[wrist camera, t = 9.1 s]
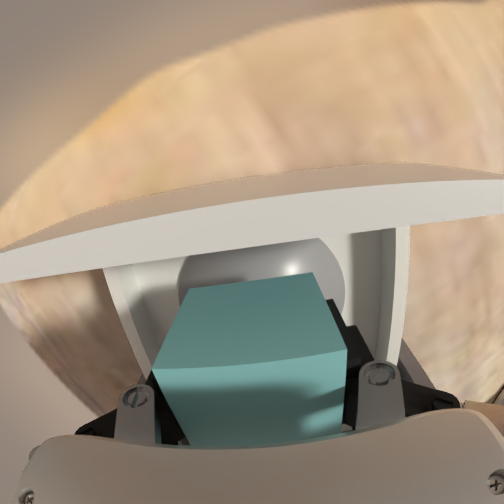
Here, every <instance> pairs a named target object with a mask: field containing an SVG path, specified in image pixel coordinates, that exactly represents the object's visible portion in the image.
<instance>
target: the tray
mask: <svg viewBox="0 0 504 504" xmlns="http://www.w3.org/2000/svg"><path fill="white" fill-rule="evenodd" d="M497 214H504V175H501V174H495V173H490V172H483V171H477V170H470V169H463V168H455V167H447V166H438V165H429V164H418V163H406V162H403V163H382V164H365V165H352V166H339V167H328V168H318V169H309V170H300V171H291V172H283V173H275V174H268V175H261V176H254V177H247V178H241V179H234V180H228V181H222V182H216V183H210V184H205V185H199V186H194V187H189V188H184V189H178V190H173V191H169V192H164V193H159V194H154V195H150V196H145V197H141V198H137V199H132V200H128V201H124V202H120V203H116V204H112V205H108V206H104V207H100V208H96V209H93V210H90V211H88V212H85V213H82V214H80V215H77V216H75V217H72V218H70V219H67V220H65V221H62V222H60V223H57V224H55V225H53V226H50V227H48V228H45V229H43V230H41V231H39V232H36V233H34V234H32V235H30V236H27V237H25V238H23V239H21V240H19V241H16V242H14V243H12V244H10V245H8V246H6V247H4V248H2V249H0V283H6V282H12V281H19V280H26V279H32V278H39V277H46V276H52V275H59V274H66V273H73V272H79V271H86V270H93V269H100V268H102V269H103V272H104V275H105V278H106V282H107V285H108V288H109V291H110V294H111V296H112V299H113V302H114V305H115V308H116V310H117V313H118V316H119V318H120V321H121V324H122V326H123V329H124V331H125V334H126V336H127V338H128V341H129V343H130V346H131V348H132V350H133V353H134V355H135V357H136V359H137V362H138V364H139V366H140V368H141V370H142V372H143V375H144V377H145V379H146V381H147V378H148V376H149V374H150V371H151V369H152V367H153V364H154V362H155V360H156V358H157V355H158V353H159V351H160V349H161V347H162V345H163V342H164V340H165V338H166V336H167V334H168V332H169V330H170V327H171V325H172V323H173V321H174V319H175V317H176V315H177V313H178V311H179V309H180V306H181V304H182V302H183V300H184V298H185V296H186V294H187V292H188V290H189V288H198V287H206V286H214V285H222V284H230V283H238V282H246V281H253V280H260V279H268V278H275V277H282V276H289V275H296V274H303V273H310V272H313V274H314V276H315V278H316V280H317V283H318V285H319V287H320V289H321V291H322V293H323V296H324V298H325V300H327V299H333V300H334V302H335V304H336V306H337V308H338V310H339V312H340V314H341V316H342V318H343V320H344V322H345V324H346V326H351V325H356V326H357V328H358V329H359V331H360V333H361V335H362V337H363V339H364V341H365V343H366V344H367V346H368V348H369V350H370V352H371V354H372V356H373V358H374V360H375V361H376V360H385V361H388V362H391V363H393V364H395V365H396V366H397V363H398V357H399V352H400V346H401V339H402V333H403V325H404V318H405V309H406V300H407V288H408V275H409V255H410V226H411V225H419V224H427V223H434V222H442V221H450V220H458V219H466V218H473V217H481V216H489V215H497ZM351 430H352V427H351V426H349V425H346V424H342V425H341V433H344V432H349V431H351ZM181 442H182V445H186V446H191V444H190V443H189V441H188V439H187V438H186V437H185V438H183V439H181Z"/></svg>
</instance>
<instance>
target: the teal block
mask: <svg viewBox="0 0 504 504" xmlns="http://www.w3.org/2000/svg"><path fill="white" fill-rule="evenodd" d="M346 364H347V348H346V345H345V343H344V341H343V338H342V336H341V334H340V332H339V329H338V327H337V325H336V322H335V320H334V318H333V316H332V313H331V311H330V309H329V307H328V304H327V302H326V300H325V298H324V296H323V293H322V291H321V289H320V287H319V285H318V283H317V280H316V278H315V276H314V274H313V272H310V273H303V274H296V275H289V276H282V277H275V278H268V279H260V280H253V281H246V282H238V283H230V284H222V285H214V286H206V287H198V288H189V290H188V292H187V294H186V296H185V298H184V300H183V302H182V304H181V306H180V309H179V311H178V313H177V315H176V317H175V319H174V321H173V323H172V325H171V327H170V330H169V332H168V334H167V336H166V338H165V340H164V342H163V345H162V347H161V349H160V351H159V353H158V355H157V358H156V360H155V362H154V364H153V367H152V371H153V374H154V376H155V378H156V380H157V382H158V384H159V386H160V388H161V390H162V392H163V395H164V397H165V399H166V401H167V403H168V404H169V406H170V408H171V410H172V412H173V414H174V416H175V418H176V420H177V422H178V423H179V425H180V427H181V429H182V431H183V432H184V434H185V436H186V438H187V439H188V441H189V443H190V444H191V446H241V445H258V444H271V443H281V442H290V441H298V440H305V439H312V438H318V437H324V436H329V435H335V434H340V433H341V425H342V416H343V406H344V394H345V381H346Z"/></svg>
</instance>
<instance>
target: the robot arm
mask: <svg viewBox="0 0 504 504" xmlns="http://www.w3.org/2000/svg"><path fill="white" fill-rule="evenodd" d="M326 302H327V304H328V307H329V309H330V311H331V313H332V316H333V318H334V320H335V322H336V325H337V327H338V329H339V332H340V334H341V336H342V338H343V341H344V343H345V345H346V348H347V364H346V381H345V394H344V406H343V416H342V424H346V425H349V426H351V427H352V430H351V431H349V432H344V433H340V434H335V435H329V436H324V437H318V438H312V439H305V440H298V441H290V442H281V443H271V444H258V445H241V446H186V445H182V442H181V439H183V438H185V437H186V436H185V434H184V432H183V431H182V429H181V427H180V425H179V423H178V422H177V420H176V418H175V416H174V414H173V412H172V410H171V408H170V406H169V404H168V403H167V401H166V399H165V397H164V395H163V392H162V390H161V388H160V386H159V384H158V382H157V380H156V378H155V376H154V374H153V371H152V369H151V371H150V374H149V376H148V378H147V381H146V383H145V385H144V384H137V385H133V386H130V387H128V388H127V389H125V390H124V391H123V392H122V393H121V395H120V397H119V401H118V408H117V409H115V410H113V411H111V412H109V413H107V414H105V415H103V416H101V417H99V418H97V419H95V420H93V421H91V422H89V423H87V424H85V425H83V426H82V427H80V428H79V429H78V430H77V431H76V432H75V434H74V435H64V436H57V437H53V438H50V439H48V440H46V441H45V442H44V443H42V444H41V445H40V446H37V447H36V448H34V449H33V450H32V451H31V452H30V454H29V462H28V463H27V465H26V467H25V469H24V471H23V472H22V474H21V476H20V478H19V480H18V482H17V484H16V486H15V488H14V490H13V493H12V495H11V497H10V499H9V502H8V504H504V389H503V390H502V391H501V393H500V394H499V396H498V397H497V399H496V400H495V402H494V404H489V403H481V402H473V401H466V400H465V402H464V403H459V401H458V399H457V398H456V397H455V396H454V395H452V394H450V393H447V392H444V391H440V390H436V389H433V388H429V387H426V386H422V385H419V384H415V383H412V382H409V381H405V380H402V379H401V376H400V371H399V369H398V367H397V366H396V365H395V364H393V363H391V362H388V361H385V360H376V361H375V360H374V358H373V356H372V354H371V352H370V350H369V348H368V346H367V344H366V343H365V341H364V339H363V337H362V335H361V333H360V331H359V329H358V328H357V326H356V325H351V326H346V324H345V322H344V320H343V318H342V316H341V314H340V312H339V310H338V308H337V306H336V304H335V302H334V300H333V299H327V300H326Z"/></svg>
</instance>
